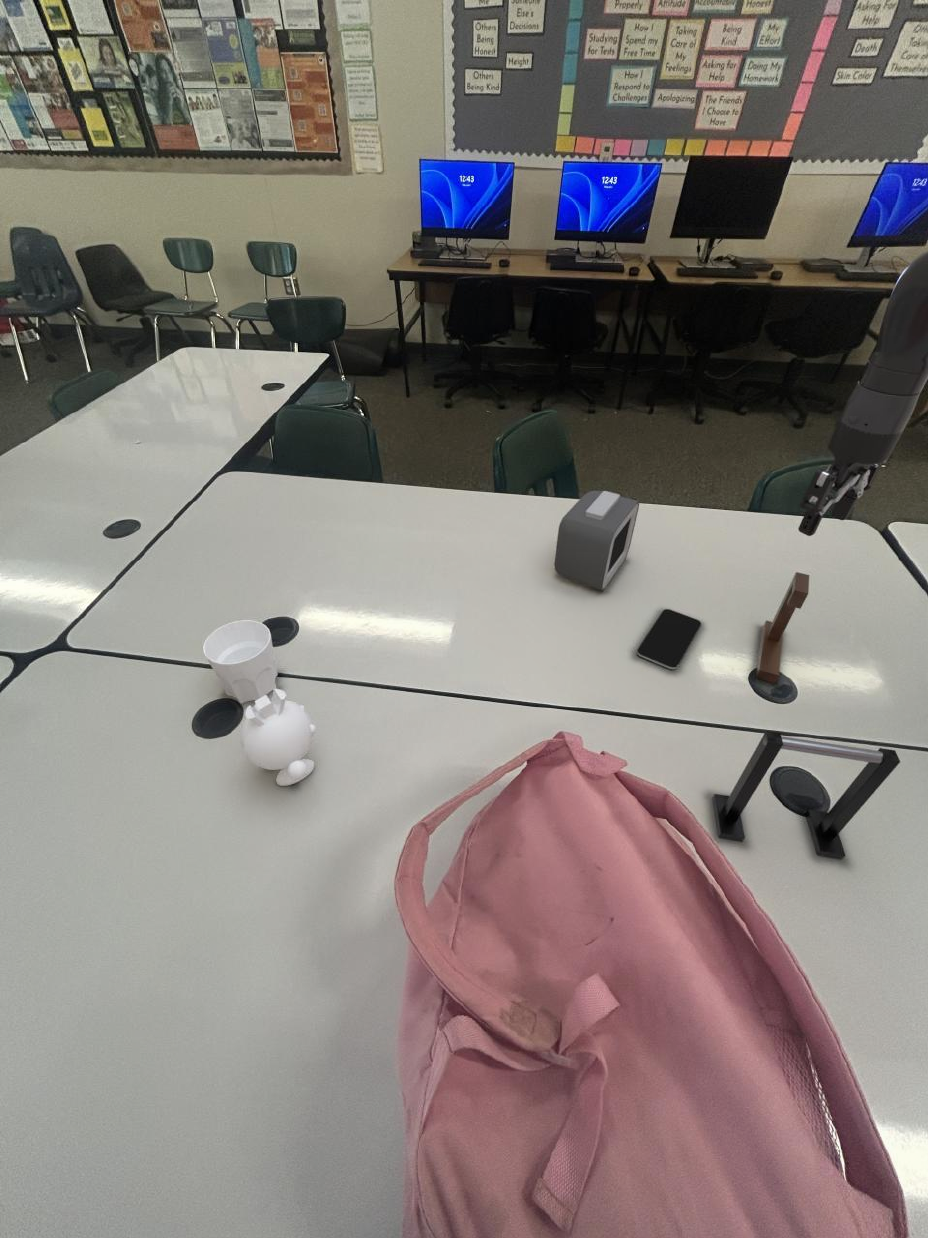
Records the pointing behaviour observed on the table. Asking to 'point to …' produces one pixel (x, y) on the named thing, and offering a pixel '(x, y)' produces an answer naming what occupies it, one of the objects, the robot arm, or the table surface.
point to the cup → (242, 659)
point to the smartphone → (669, 639)
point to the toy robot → (278, 737)
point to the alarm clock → (595, 538)
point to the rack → (820, 823)
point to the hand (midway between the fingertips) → (822, 525)
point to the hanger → (780, 629)
